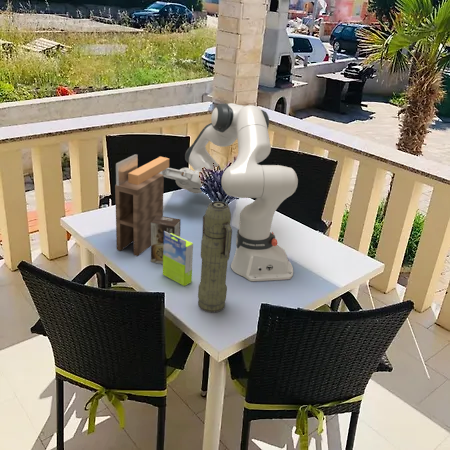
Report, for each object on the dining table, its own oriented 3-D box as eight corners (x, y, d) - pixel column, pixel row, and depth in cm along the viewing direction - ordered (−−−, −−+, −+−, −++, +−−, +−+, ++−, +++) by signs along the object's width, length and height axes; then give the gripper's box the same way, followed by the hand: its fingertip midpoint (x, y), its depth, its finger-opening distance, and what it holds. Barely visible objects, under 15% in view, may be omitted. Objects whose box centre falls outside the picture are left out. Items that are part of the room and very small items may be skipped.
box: (192, 282, 176) (194, 237, 169) (184, 287, 173) (186, 241, 166) (169, 270, 182) (171, 226, 174) (161, 275, 179) (162, 230, 171)
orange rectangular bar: (160, 165, 202) (160, 156, 200) (169, 167, 201) (169, 158, 199) (128, 182, 184) (128, 173, 182) (138, 184, 182) (137, 175, 181)
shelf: (142, 231, 207) (142, 170, 196) (162, 236, 204) (163, 174, 193) (116, 249, 192) (115, 184, 181) (137, 256, 189) (137, 190, 178)
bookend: (135, 175, 191) (135, 154, 187) (137, 175, 190) (137, 154, 187) (116, 185, 181) (115, 163, 177) (118, 185, 180) (118, 164, 177)
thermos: (208, 291, 172) (214, 194, 157) (234, 307, 165) (243, 207, 149) (188, 301, 166) (193, 201, 151) (214, 318, 159) (222, 215, 144)
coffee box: (180, 258, 190) (181, 219, 183) (173, 267, 184) (175, 226, 177) (156, 253, 192) (157, 214, 185) (150, 262, 186) (150, 221, 179)
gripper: (166, 166, 225) (152, 158, 212) (209, 176, 218) (197, 168, 205) (163, 180, 225) (148, 173, 212) (205, 190, 218) (192, 184, 205)
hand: (172, 171), depth 208 cm, fingers open, 8 cm apart
